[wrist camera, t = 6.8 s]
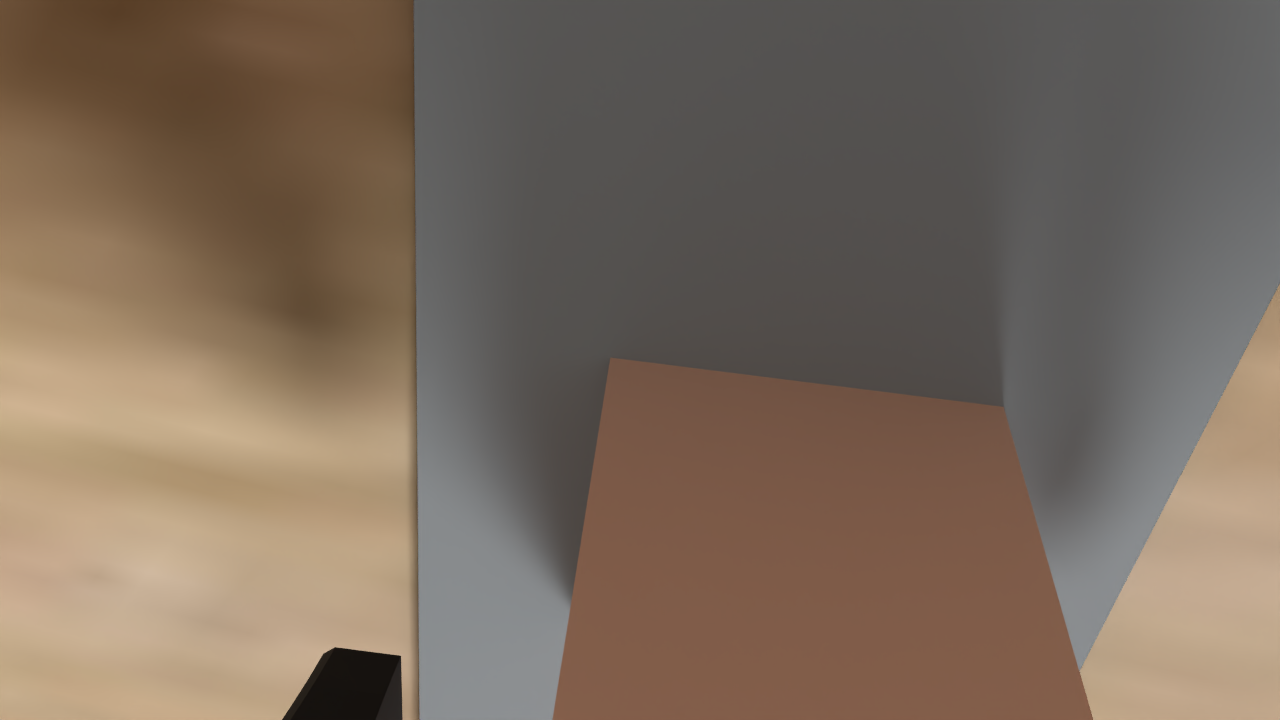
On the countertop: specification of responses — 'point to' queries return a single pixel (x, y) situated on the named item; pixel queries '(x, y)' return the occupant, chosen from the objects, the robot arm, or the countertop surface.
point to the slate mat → (821, 259)
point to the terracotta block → (808, 559)
